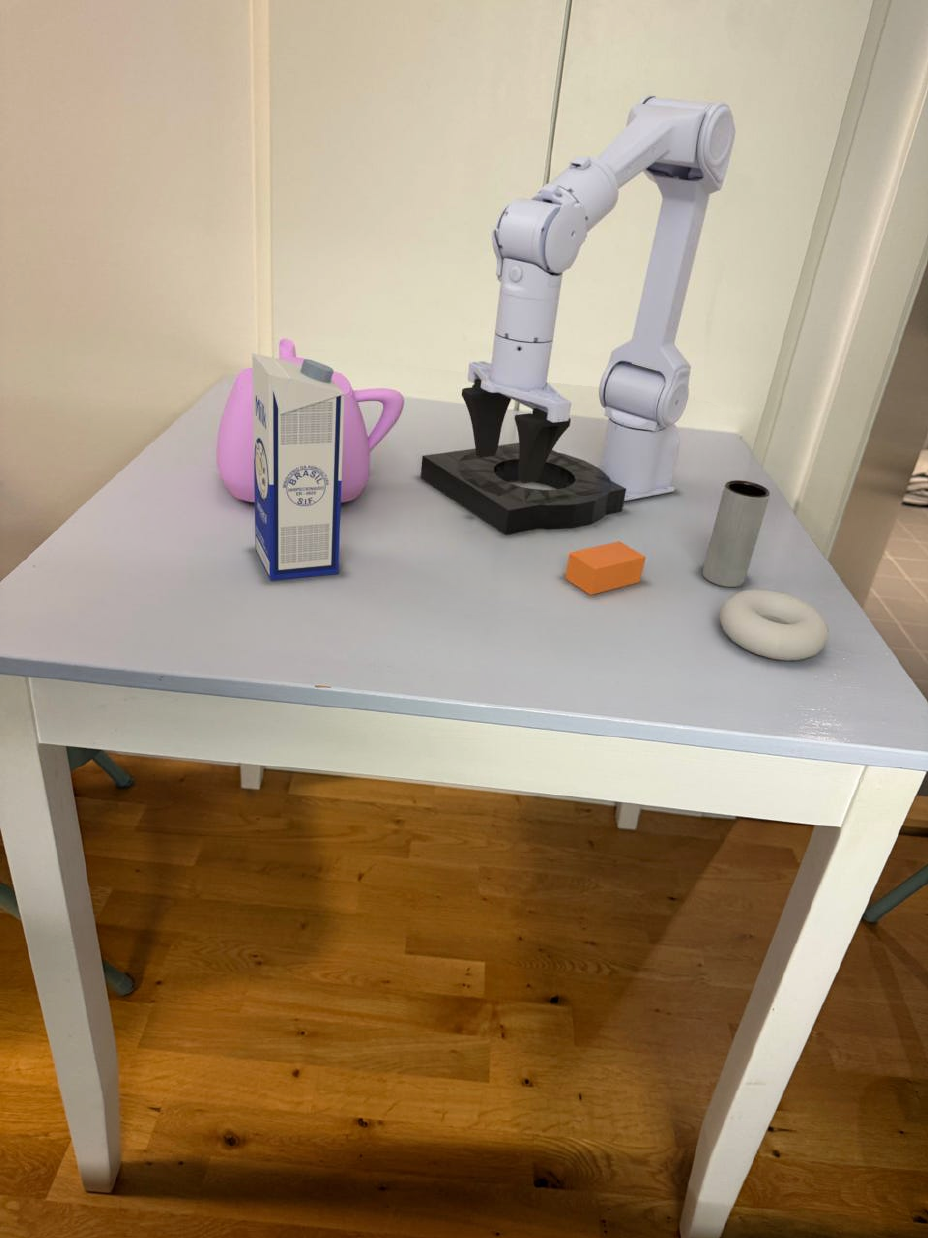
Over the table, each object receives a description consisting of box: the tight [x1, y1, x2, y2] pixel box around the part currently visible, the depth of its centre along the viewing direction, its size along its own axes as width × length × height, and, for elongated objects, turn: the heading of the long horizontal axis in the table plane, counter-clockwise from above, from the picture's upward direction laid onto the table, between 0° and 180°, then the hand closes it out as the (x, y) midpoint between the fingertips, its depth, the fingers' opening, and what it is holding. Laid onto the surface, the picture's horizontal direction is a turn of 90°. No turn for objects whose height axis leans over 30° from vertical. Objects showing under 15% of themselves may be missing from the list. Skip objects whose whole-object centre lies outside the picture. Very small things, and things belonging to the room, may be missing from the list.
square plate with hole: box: [420, 442, 626, 536], centre depth 110 cm, size 20×20×3 cm
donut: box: [719, 589, 829, 662], centre depth 85 cm, size 10×4×10 cm
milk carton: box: [251, 353, 345, 582], centre depth 84 cm, size 7×7×20 cm
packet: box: [564, 540, 647, 596], centre depth 92 cm, size 7×4×3 cm, turn 124°
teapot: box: [216, 338, 405, 504], centre depth 105 cm, size 23×21×15 cm
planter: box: [701, 479, 771, 588], centre depth 94 cm, size 4×4×10 cm
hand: (506, 467), depth 94 cm, fingers open, 7 cm apart
